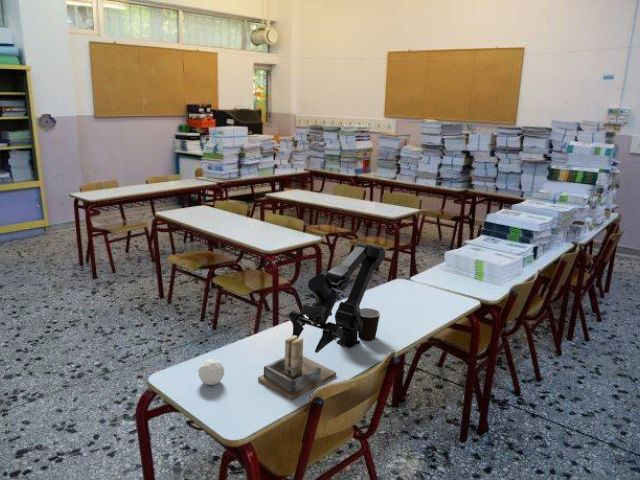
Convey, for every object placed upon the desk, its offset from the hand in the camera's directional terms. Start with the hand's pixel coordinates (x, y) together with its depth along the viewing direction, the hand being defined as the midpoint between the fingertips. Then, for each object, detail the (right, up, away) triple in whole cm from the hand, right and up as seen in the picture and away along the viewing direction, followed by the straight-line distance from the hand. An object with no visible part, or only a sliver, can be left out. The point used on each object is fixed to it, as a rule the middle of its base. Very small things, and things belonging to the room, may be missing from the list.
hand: (303, 348), depth 163 cm
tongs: (-3, -9, -2) cm, 9 cm away
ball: (-28, -10, -5) cm, 30 cm away
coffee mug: (+23, -2, +31) cm, 39 cm away
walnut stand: (-2, -9, -1) cm, 10 cm away
